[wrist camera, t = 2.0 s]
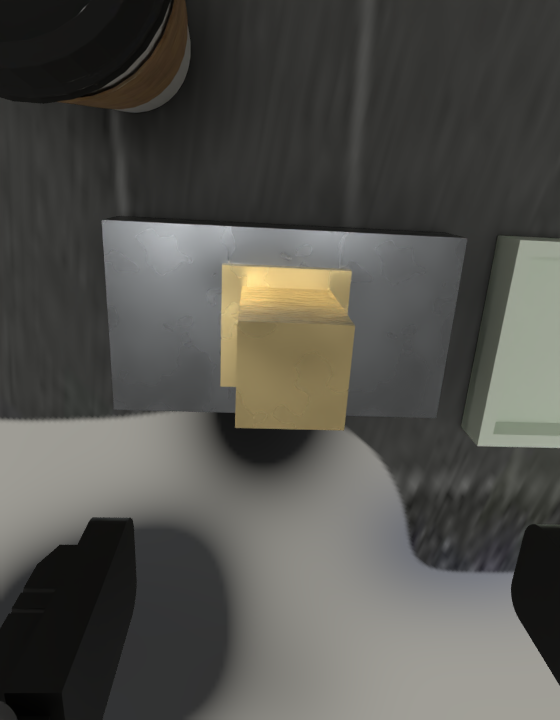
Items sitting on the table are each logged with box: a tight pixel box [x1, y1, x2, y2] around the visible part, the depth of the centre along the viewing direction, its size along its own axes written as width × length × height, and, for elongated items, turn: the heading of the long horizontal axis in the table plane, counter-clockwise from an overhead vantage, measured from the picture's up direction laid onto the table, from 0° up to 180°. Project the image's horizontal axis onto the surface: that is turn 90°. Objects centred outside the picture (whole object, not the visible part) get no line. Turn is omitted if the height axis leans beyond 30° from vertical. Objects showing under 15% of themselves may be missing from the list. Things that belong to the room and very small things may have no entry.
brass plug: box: [220, 263, 355, 430], centre depth 24 cm, size 6×6×10 cm
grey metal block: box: [102, 216, 467, 418], centre depth 27 cm, size 10×18×3 cm, turn 87°
